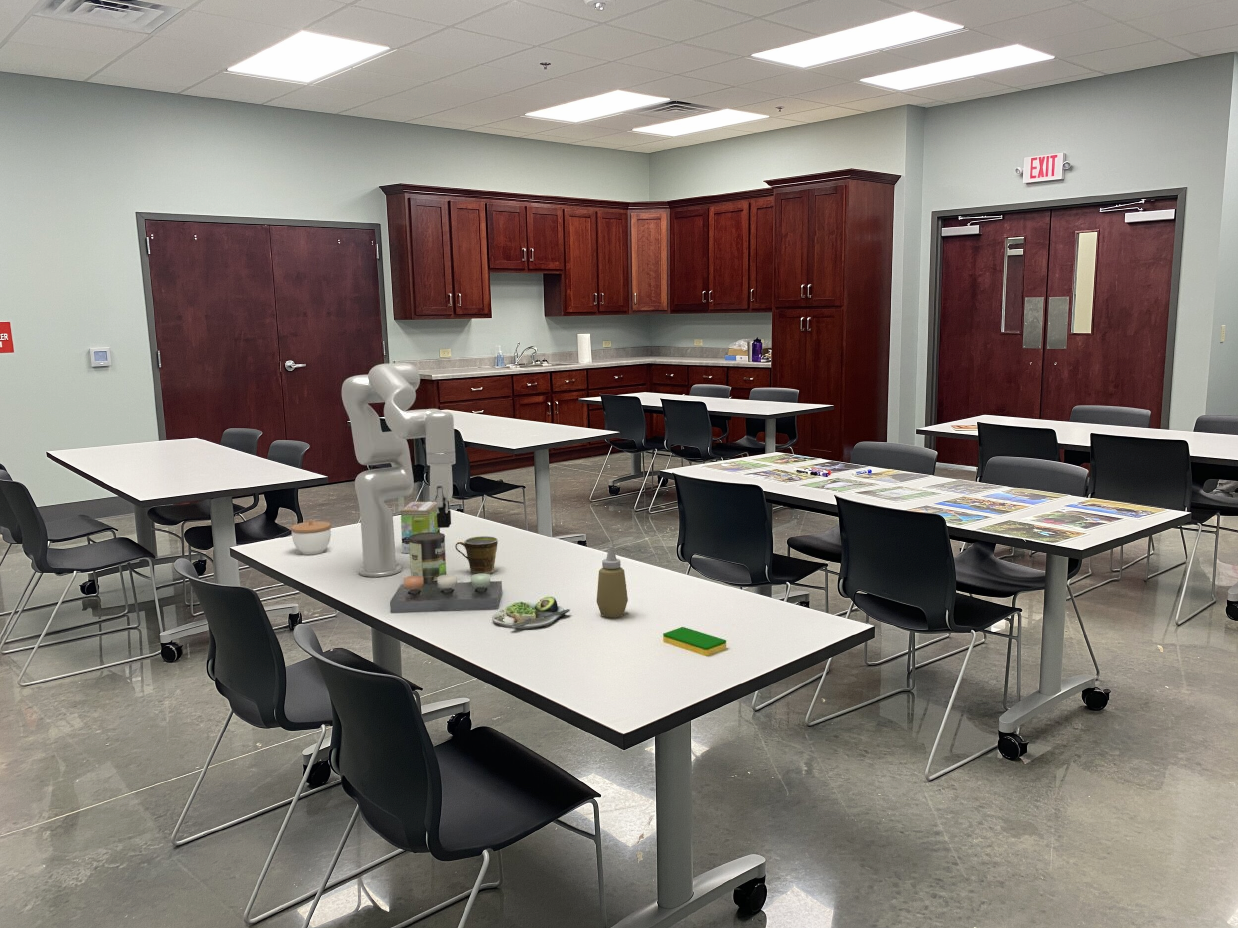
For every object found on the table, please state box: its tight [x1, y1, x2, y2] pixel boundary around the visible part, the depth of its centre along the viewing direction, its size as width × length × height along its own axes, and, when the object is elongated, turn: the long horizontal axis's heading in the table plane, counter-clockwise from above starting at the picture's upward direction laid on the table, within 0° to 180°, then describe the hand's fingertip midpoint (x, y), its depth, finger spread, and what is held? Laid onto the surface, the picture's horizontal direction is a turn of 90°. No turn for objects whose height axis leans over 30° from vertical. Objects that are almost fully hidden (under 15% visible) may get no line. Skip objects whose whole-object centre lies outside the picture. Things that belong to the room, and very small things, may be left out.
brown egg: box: [403, 575, 424, 594], centre depth 251 cm, size 5×5×5 cm
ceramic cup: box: [455, 535, 499, 575], centre depth 280 cm, size 13×10×10 cm
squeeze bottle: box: [596, 545, 629, 619], centre depth 237 cm, size 8×8×18 cm
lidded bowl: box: [290, 519, 332, 556], centre depth 309 cm, size 13×13×11 cm
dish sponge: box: [662, 626, 727, 657], centre depth 215 cm, size 7×14×2 cm, turn 43°
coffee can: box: [409, 532, 447, 584], centre depth 269 cm, size 10×10×14 cm
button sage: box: [470, 573, 491, 592], centre depth 252 cm, size 5×5×5 cm
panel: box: [389, 580, 503, 614], centre depth 252 cm, size 16×28×3 cm, turn 93°
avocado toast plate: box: [491, 596, 571, 630], centre depth 235 cm, size 19×18×5 cm
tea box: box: [400, 501, 441, 554], centre depth 311 cm, size 15×10×15 cm
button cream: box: [437, 574, 458, 593], centre depth 251 cm, size 5×5×5 cm
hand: (444, 525), depth 248 cm, fingers closed
